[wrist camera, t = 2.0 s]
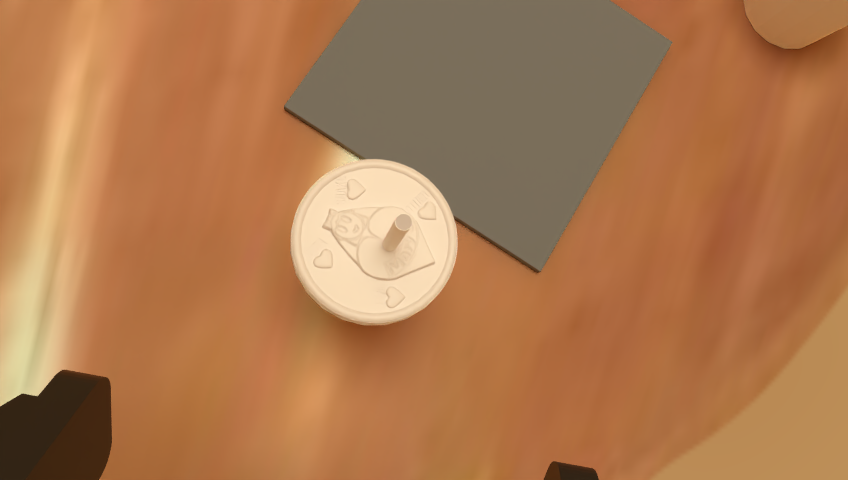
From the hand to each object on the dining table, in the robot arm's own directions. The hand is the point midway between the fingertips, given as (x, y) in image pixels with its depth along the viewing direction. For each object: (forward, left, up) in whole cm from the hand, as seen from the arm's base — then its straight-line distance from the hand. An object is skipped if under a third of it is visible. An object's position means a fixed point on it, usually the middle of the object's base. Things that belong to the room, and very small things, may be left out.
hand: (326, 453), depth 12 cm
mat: (+11, +16, -22) cm, 29 cm away
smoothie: (+3, +6, -22) cm, 23 cm away
